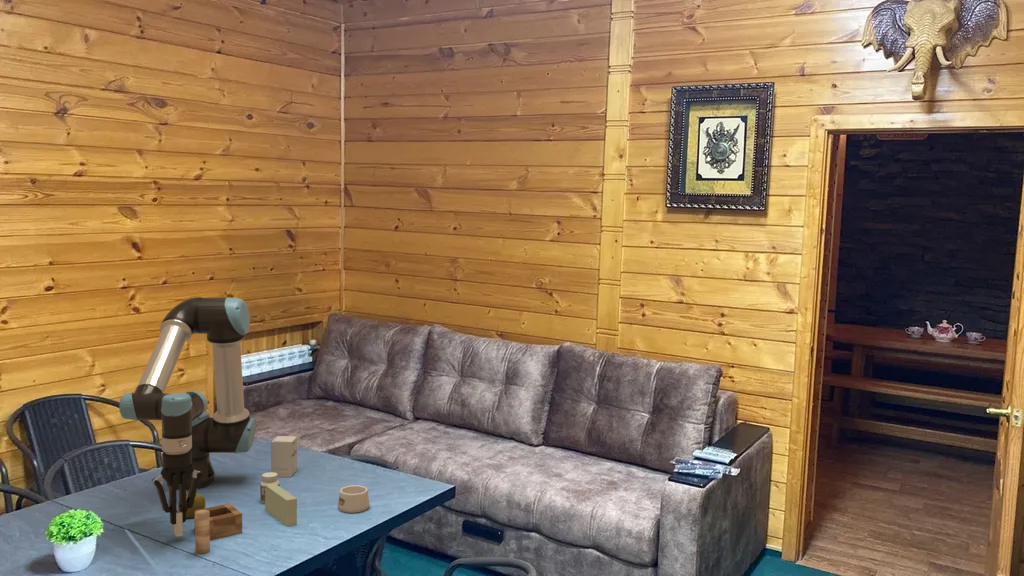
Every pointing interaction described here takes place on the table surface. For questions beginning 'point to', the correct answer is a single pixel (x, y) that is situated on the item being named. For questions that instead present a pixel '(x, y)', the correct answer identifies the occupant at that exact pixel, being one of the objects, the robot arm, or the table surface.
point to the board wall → (281, 504)
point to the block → (224, 521)
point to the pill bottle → (267, 479)
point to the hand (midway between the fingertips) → (178, 534)
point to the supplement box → (284, 455)
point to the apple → (195, 505)
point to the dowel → (202, 532)
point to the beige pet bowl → (353, 499)
